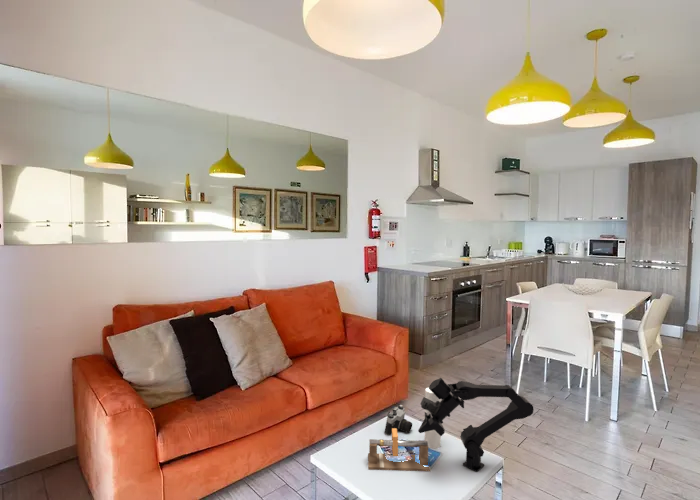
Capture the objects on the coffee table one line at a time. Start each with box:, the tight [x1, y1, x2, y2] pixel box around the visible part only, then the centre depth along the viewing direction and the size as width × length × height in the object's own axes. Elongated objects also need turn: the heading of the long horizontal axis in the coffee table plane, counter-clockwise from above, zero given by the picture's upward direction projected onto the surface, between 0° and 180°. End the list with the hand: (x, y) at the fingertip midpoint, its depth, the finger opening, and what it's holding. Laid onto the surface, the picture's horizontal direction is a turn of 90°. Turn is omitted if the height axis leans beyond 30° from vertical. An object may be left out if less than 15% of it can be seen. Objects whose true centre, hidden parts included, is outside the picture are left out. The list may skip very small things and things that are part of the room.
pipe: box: [370, 438, 428, 448], centre depth 160 cm, size 24×2×2 cm, turn 88°
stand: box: [367, 438, 431, 472], centre depth 160 cm, size 25×10×8 cm, turn 88°
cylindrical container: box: [424, 386, 442, 450], centre depth 175 cm, size 7×7×25 cm
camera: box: [383, 404, 413, 437], centre depth 187 cm, size 15×11×10 cm
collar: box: [391, 428, 399, 456], centre depth 160 cm, size 2×7×8 cm, turn 178°
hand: (418, 431), depth 159 cm, fingers closed
